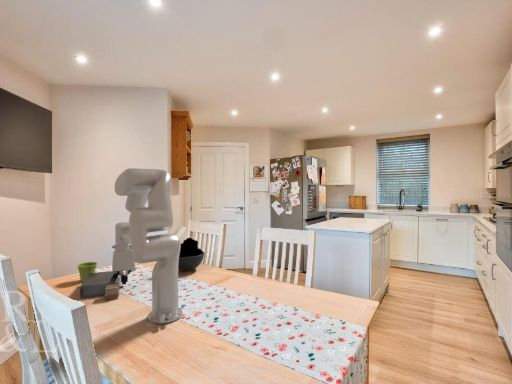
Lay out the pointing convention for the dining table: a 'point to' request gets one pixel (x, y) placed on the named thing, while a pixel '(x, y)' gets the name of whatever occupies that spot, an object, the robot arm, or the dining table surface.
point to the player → (96, 284)
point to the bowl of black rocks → (190, 255)
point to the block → (112, 292)
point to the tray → (116, 280)
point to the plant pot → (86, 269)
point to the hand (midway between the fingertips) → (124, 283)
